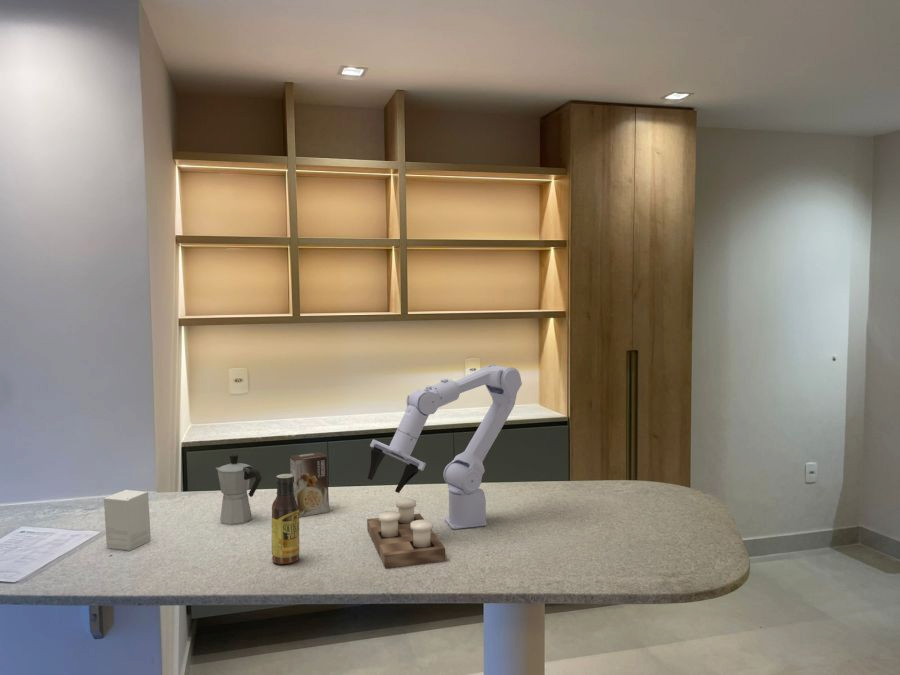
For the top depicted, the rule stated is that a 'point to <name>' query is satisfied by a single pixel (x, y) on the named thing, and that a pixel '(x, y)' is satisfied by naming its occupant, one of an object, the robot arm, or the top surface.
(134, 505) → the supplement box
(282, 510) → the sauce bottle
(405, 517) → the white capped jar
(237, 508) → the coffee maker
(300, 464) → the coffee box
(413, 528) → the knob camera side
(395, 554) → the knob panel
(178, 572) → the top surface
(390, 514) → the knob middle
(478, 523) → the robot arm
